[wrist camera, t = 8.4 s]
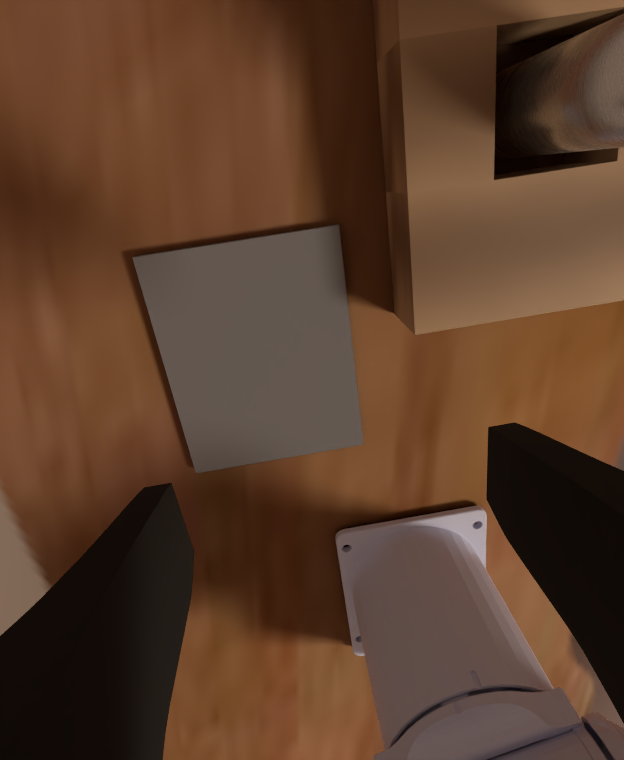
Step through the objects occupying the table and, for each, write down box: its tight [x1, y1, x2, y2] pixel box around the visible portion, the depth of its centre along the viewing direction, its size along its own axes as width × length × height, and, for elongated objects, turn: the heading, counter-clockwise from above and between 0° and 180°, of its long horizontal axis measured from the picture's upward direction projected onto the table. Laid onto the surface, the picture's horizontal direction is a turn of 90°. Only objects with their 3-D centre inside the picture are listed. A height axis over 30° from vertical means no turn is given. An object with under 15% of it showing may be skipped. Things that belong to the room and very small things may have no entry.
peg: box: [494, 14, 624, 158], centre depth 13 cm, size 3×3×9 cm
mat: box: [133, 224, 363, 473], centre depth 20 cm, size 10×8×1 cm
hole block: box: [372, 0, 624, 335], centre depth 16 cm, size 14×10×3 cm
